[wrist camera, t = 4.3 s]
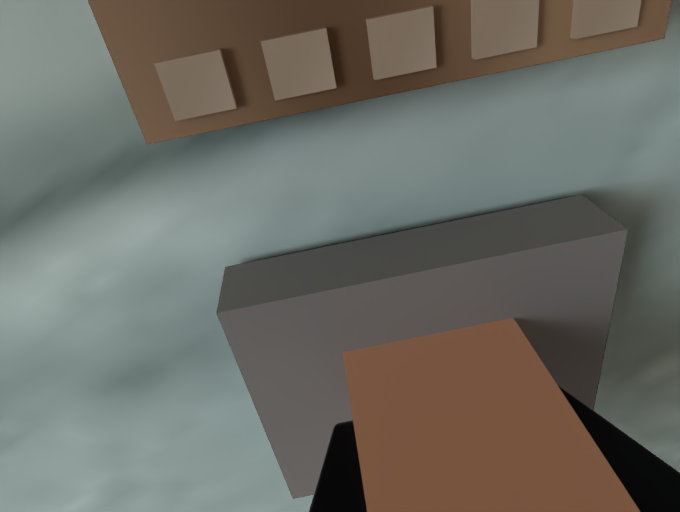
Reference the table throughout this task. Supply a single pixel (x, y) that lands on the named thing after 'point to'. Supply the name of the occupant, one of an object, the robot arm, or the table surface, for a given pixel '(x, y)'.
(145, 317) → the table surface
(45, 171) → the table surface
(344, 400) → the stub
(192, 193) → the table surface
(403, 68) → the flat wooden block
